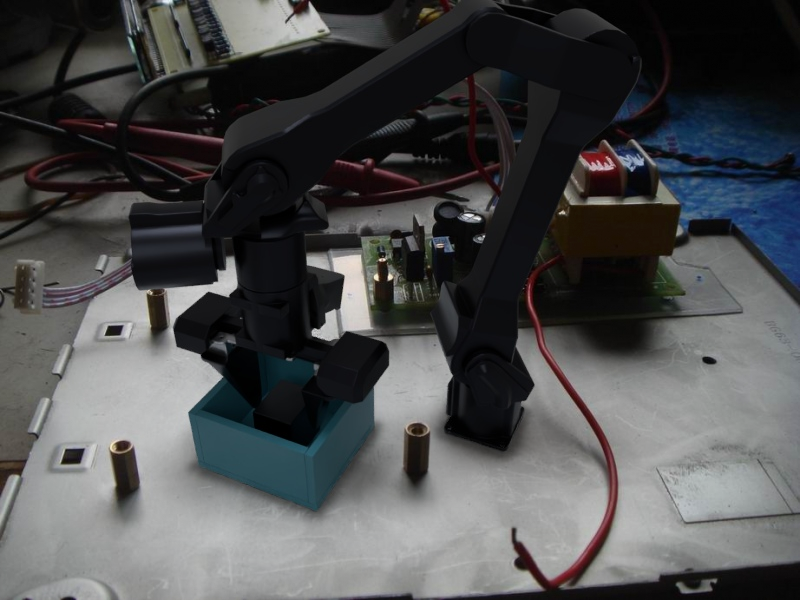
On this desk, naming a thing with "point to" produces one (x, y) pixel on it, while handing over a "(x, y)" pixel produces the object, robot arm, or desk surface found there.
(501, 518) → the desk surface
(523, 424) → the desk surface
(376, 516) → the desk surface
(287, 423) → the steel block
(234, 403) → the bin
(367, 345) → the robot arm
